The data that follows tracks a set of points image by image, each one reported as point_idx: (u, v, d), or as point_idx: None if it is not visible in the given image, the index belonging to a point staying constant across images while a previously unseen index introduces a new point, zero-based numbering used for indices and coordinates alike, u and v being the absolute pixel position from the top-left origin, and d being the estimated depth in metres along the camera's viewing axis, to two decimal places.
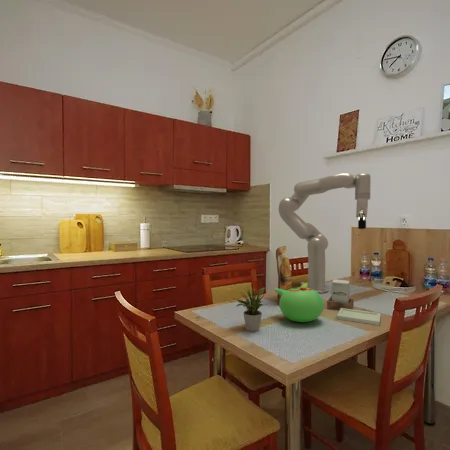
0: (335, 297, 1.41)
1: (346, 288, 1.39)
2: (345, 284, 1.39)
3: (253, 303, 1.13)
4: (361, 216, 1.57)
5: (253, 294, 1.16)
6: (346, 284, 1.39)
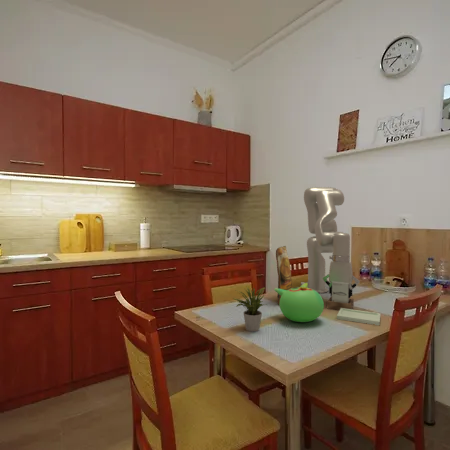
0: (335, 297, 1.41)
1: (346, 288, 1.39)
2: (345, 284, 1.39)
3: (253, 303, 1.13)
4: (357, 284, 1.40)
5: (253, 294, 1.16)
6: (346, 284, 1.39)
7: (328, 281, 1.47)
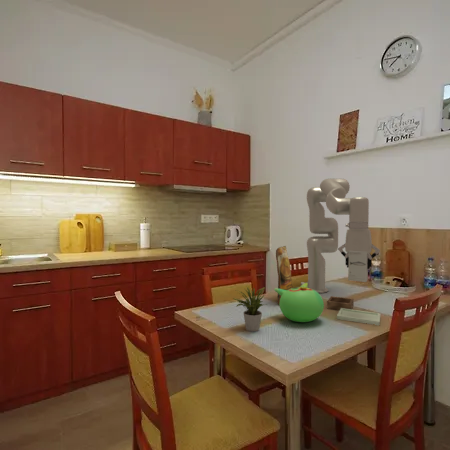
0: (352, 268, 1.27)
1: (365, 257, 1.25)
2: (364, 253, 1.25)
3: (253, 303, 1.13)
4: (377, 253, 1.26)
5: (253, 294, 1.16)
6: (365, 252, 1.25)
7: (344, 252, 1.32)
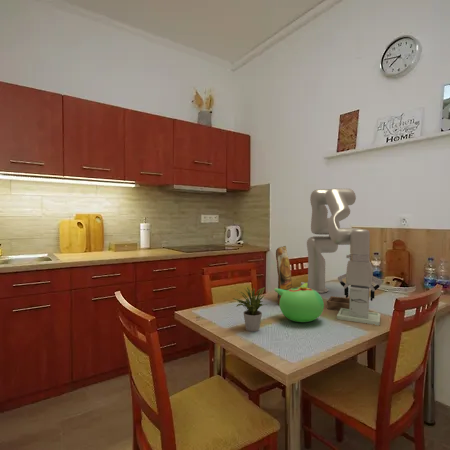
0: (353, 305, 1.26)
1: (366, 295, 1.24)
2: (365, 290, 1.24)
3: (253, 303, 1.13)
4: None
5: (253, 294, 1.16)
6: (366, 290, 1.24)
7: None
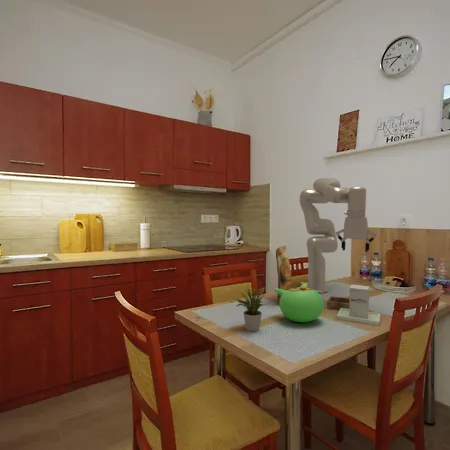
0: (353, 305, 1.26)
1: (366, 295, 1.24)
2: (365, 290, 1.24)
3: (253, 303, 1.13)
4: None
5: (253, 294, 1.16)
6: (366, 290, 1.24)
7: (340, 236, 1.44)
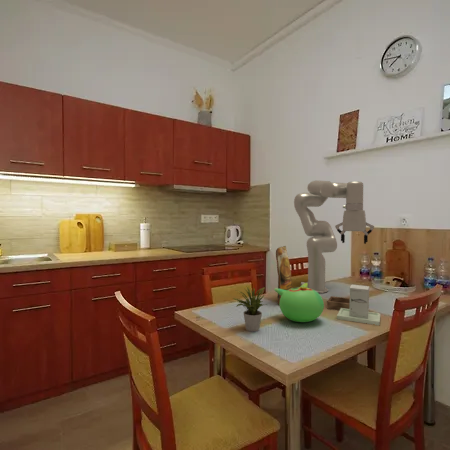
0: (353, 305, 1.26)
1: (366, 295, 1.24)
2: (365, 290, 1.24)
3: (253, 303, 1.13)
4: None
5: (253, 294, 1.16)
6: (366, 290, 1.24)
7: None
